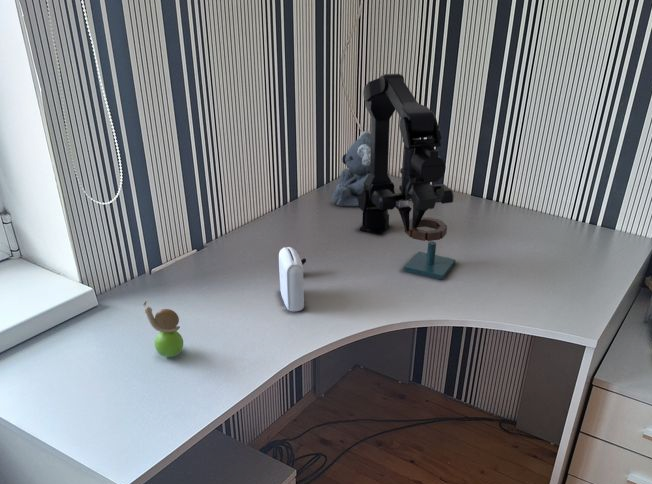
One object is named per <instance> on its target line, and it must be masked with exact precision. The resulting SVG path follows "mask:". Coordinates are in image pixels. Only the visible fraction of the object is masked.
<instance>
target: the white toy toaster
mask: <svg viewBox="0 0 652 484" xmlns="http://www.w3.org/2000/svg"><path fill="white" fill-rule="evenodd" d="M301 260H302V259H301V256H300V255H299V253H298V252H297V251H296V249H295V248H293V247H292V246H287V247H286V246H284V247H282V248H281V249H280V250H279V253H278V268H279V269H278V271H279V273H278V274H279V288H280V289H279V290H280V294H281V295H280V296H281V298H282V301H283V303H284V305H285V307H286V309H287V311H290V312H294V313H295V312H300V311H302V310H303V309H305V290H304V289H305V288H304V286H305V285H304V284H305V283H304V266H303V265H304V264H303V265H302V262H301Z"/></svg>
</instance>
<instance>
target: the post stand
mask: <svg viewBox="0 0 652 484" xmlns="http://www.w3.org/2000/svg"><path fill="white" fill-rule="evenodd" d="M436 251H437V242H436V241H434V240H433V241H427V252H424V251H418V252H417V253H416V254H415V255H414V256H413V257H412V258H411V259H410V260H409V262H407V263H406V265H405V266H404V268H403V271H404V272H406V273H411V274H414V275H419V276H423V277H429V278H433V279H437V280H440V281H443V280H444V278H446V276H447V275H448V273H449V272H450V271H451V269H452V268H453V267H454V266H455V265H456V259H455V258H450V257H446V256H441V255H437V254H436Z"/></svg>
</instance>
